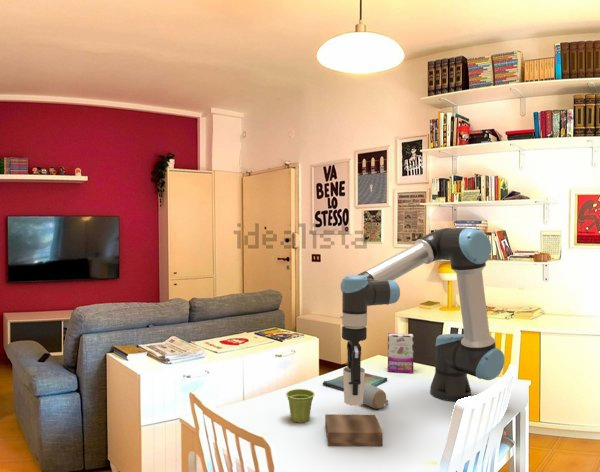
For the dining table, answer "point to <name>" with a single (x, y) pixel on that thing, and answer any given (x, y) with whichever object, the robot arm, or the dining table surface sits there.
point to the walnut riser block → (353, 430)
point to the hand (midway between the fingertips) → (353, 400)
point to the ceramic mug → (374, 396)
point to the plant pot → (300, 404)
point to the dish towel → (368, 378)
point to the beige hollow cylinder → (347, 386)
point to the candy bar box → (400, 352)
